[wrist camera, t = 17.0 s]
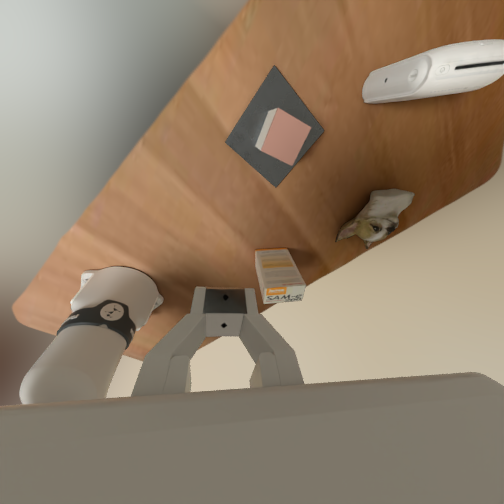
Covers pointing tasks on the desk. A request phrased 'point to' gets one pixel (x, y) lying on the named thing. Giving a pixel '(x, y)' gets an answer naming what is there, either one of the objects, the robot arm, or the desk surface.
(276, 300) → the supplement box
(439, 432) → the robot arm
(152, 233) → the desk surface
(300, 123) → the pink and white block
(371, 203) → the ceramic sculpture
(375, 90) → the photo printer
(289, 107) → the grey square base plate
